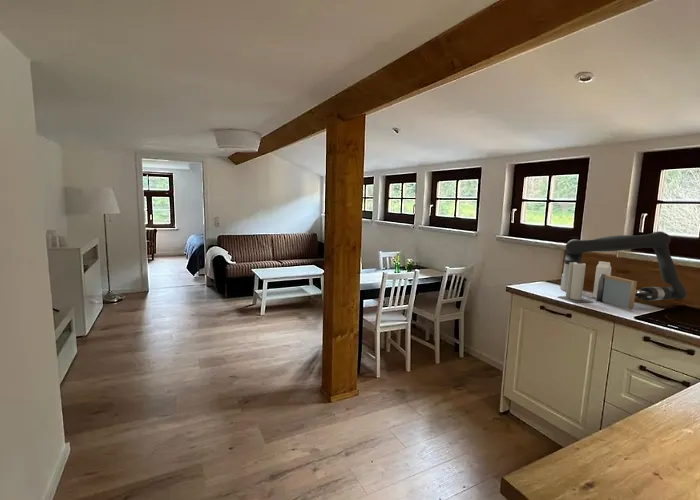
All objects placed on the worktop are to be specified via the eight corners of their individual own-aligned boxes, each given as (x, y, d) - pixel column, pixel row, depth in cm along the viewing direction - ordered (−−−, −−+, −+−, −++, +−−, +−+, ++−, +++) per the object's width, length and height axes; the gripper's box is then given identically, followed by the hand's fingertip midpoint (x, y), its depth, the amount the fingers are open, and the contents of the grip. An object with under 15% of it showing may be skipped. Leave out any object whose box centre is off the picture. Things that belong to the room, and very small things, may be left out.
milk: (603, 299, 222) (608, 263, 218) (592, 297, 226) (596, 261, 223) (607, 298, 225) (612, 262, 222) (596, 296, 230) (600, 260, 227)
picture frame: (601, 300, 214) (604, 275, 212) (604, 300, 215) (607, 275, 213) (630, 309, 197) (634, 281, 195) (634, 309, 198) (638, 281, 196)
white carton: (584, 300, 217) (588, 263, 214) (576, 300, 215) (580, 264, 212) (573, 296, 224) (577, 261, 221) (565, 297, 222) (569, 261, 219)
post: (594, 300, 218) (598, 273, 216) (599, 300, 219) (602, 273, 217) (599, 302, 215) (603, 274, 213) (604, 302, 216) (607, 274, 214)
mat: (557, 297, 224) (557, 296, 224) (575, 296, 227) (575, 295, 227) (575, 303, 211) (575, 302, 211) (593, 302, 214) (594, 301, 214)
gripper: (641, 284, 216) (617, 285, 212) (665, 290, 203) (640, 290, 199) (639, 297, 217) (615, 298, 213) (663, 303, 204) (638, 304, 200)
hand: (627, 294), depth 206 cm, fingers closed
